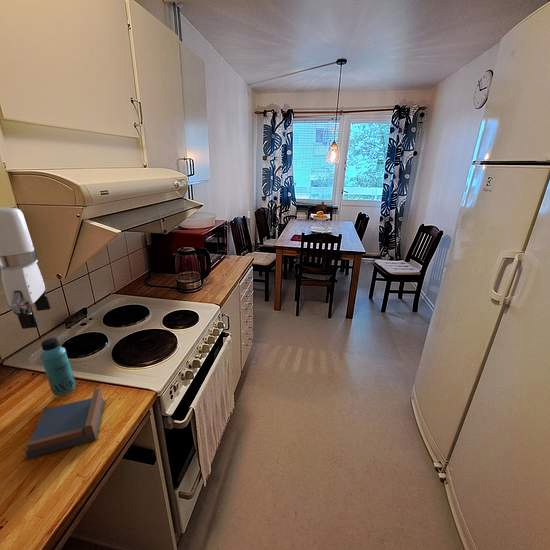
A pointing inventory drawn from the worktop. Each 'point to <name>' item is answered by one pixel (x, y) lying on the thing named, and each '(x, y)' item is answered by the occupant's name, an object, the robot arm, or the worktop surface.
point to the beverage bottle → (57, 367)
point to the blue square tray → (66, 425)
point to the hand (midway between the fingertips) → (37, 318)
